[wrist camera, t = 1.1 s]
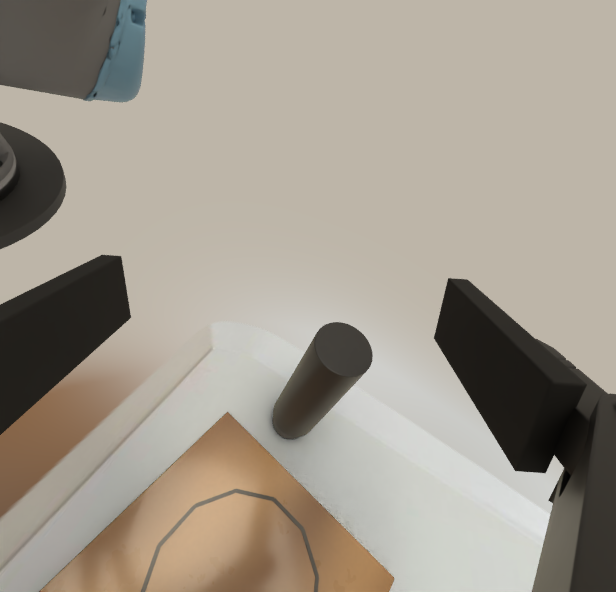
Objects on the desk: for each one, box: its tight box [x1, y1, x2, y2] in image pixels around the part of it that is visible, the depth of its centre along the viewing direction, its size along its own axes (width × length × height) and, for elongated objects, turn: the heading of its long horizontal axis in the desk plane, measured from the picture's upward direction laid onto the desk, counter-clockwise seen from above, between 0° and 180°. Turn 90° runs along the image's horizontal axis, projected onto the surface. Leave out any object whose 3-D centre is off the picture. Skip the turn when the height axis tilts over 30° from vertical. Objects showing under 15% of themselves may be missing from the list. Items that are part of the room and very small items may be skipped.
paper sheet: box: [39, 412, 394, 592], centre depth 20 cm, size 16×14×1 cm
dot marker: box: [273, 322, 372, 439], centre depth 23 cm, size 3×3×12 cm
